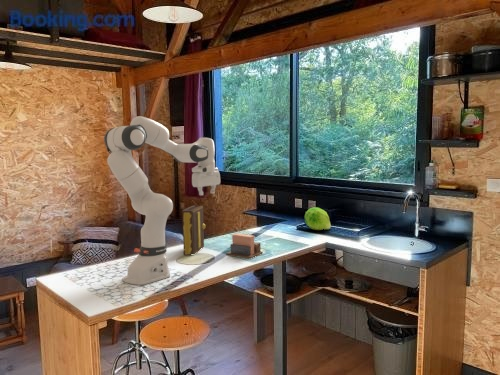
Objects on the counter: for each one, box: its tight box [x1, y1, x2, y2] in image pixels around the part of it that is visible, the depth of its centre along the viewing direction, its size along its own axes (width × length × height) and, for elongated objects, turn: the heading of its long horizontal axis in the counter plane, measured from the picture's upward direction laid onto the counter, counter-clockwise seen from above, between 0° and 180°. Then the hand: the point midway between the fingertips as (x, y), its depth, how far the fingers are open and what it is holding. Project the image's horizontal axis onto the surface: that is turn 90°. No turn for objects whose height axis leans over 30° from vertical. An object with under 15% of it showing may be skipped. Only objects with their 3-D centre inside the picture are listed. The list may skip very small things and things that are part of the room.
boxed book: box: [231, 233, 255, 255], centre depth 227 cm, size 4×12×10 cm, turn 58°
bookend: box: [230, 243, 250, 256], centre depth 225 cm, size 1×12×5 cm, turn 58°
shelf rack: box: [226, 241, 264, 259], centre depth 229 cm, size 12×16×6 cm
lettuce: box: [304, 207, 332, 231], centre depth 290 cm, size 17×20×16 cm
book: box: [181, 205, 206, 256], centre depth 238 cm, size 22×8×25 cm, turn 168°
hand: (207, 194), depth 219 cm, fingers open, 8 cm apart
